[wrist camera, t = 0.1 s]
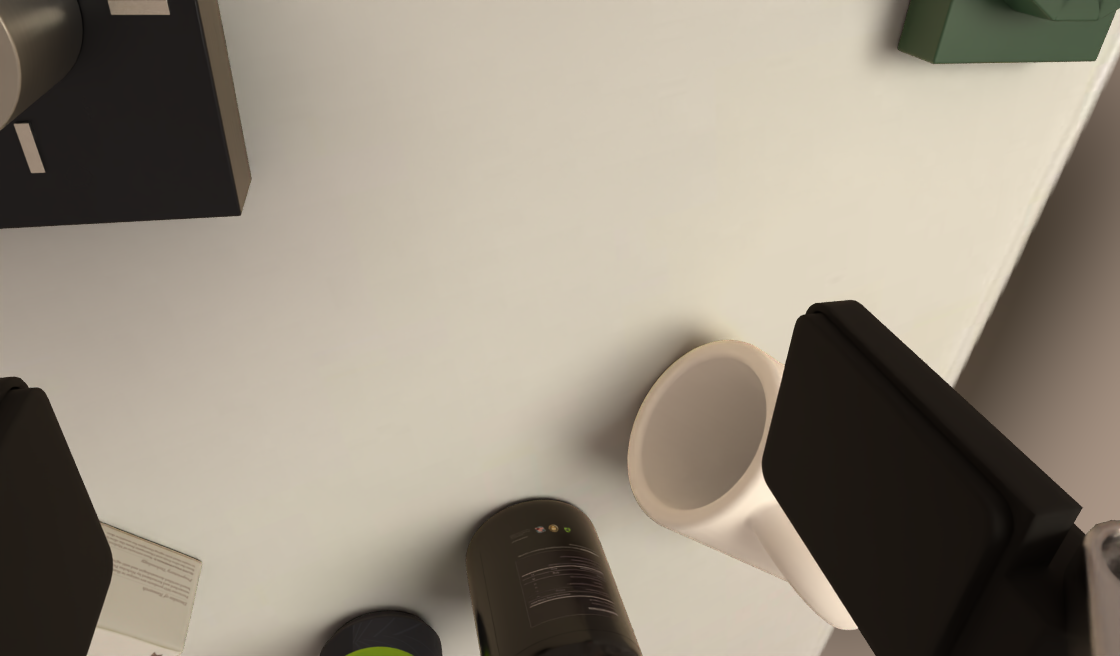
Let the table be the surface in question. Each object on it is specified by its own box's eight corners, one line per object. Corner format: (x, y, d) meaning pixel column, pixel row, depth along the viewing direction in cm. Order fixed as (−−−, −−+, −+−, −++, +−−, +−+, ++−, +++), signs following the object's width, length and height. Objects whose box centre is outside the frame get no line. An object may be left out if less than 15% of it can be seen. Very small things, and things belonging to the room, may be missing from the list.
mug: (743, 502, 40) (867, 715, 31) (604, 432, 35) (700, 660, 26) (856, 395, 38) (1031, 589, 28) (724, 303, 33) (882, 501, 23)
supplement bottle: (579, 583, 41) (650, 818, 31) (455, 590, 39) (490, 843, 29) (608, 491, 38) (699, 722, 28) (474, 493, 36) (520, 743, 26)
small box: (79, 510, 31) (39, 610, 27) (207, 559, 34) (188, 655, 30) (8, 591, 32) (-41, 697, 28) (137, 631, 35) (110, 732, 31)
